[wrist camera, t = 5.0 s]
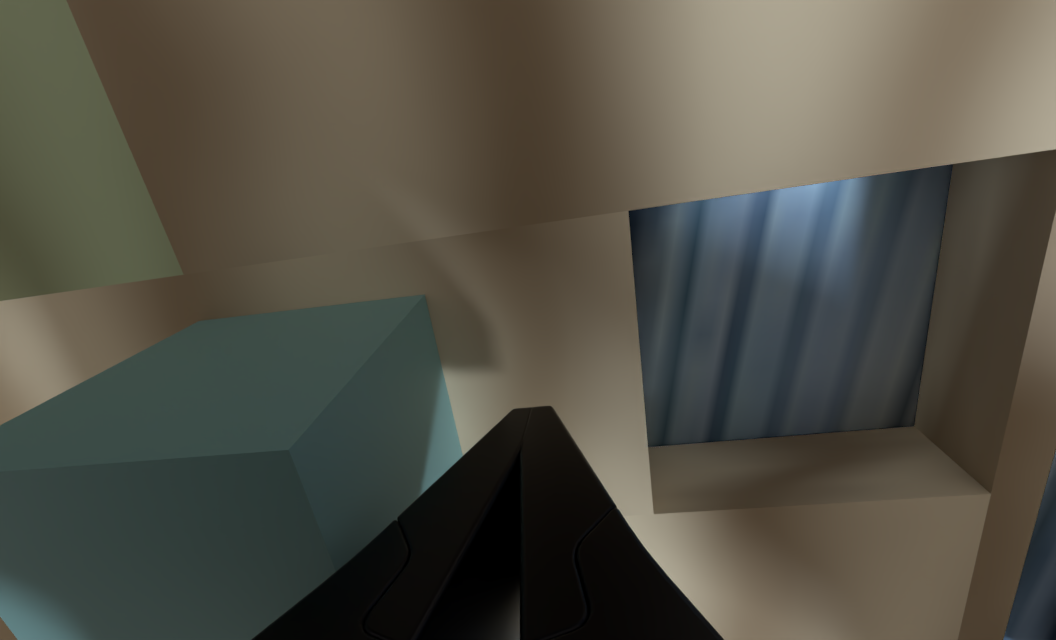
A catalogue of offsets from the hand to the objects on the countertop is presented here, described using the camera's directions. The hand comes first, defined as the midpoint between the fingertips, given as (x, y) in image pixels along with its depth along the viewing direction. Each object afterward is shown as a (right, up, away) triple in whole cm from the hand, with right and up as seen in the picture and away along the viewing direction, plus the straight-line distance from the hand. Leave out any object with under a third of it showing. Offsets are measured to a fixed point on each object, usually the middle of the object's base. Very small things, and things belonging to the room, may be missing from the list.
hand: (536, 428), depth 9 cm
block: (-4, 0, +2) cm, 5 cm away
